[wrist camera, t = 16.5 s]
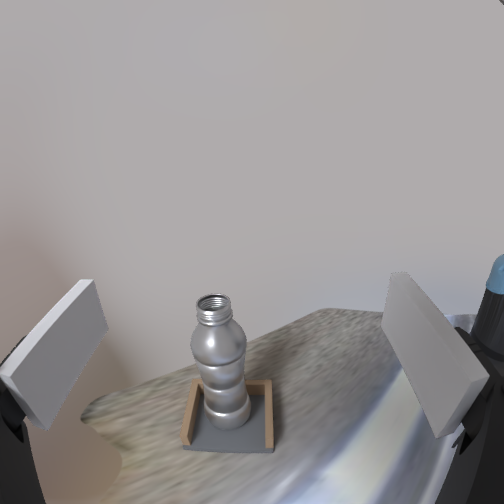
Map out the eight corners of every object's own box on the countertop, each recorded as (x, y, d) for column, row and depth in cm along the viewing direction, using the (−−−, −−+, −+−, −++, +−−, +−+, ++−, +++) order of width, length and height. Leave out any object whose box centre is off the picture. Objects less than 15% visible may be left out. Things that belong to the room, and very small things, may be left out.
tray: (271, 389, 44) (271, 377, 43) (273, 452, 33) (273, 442, 32) (196, 388, 44) (193, 376, 43) (183, 449, 33) (178, 438, 32)
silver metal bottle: (198, 427, 36) (169, 313, 29) (219, 395, 42) (201, 283, 35) (241, 441, 34) (227, 327, 27) (258, 406, 40) (254, 291, 32)
